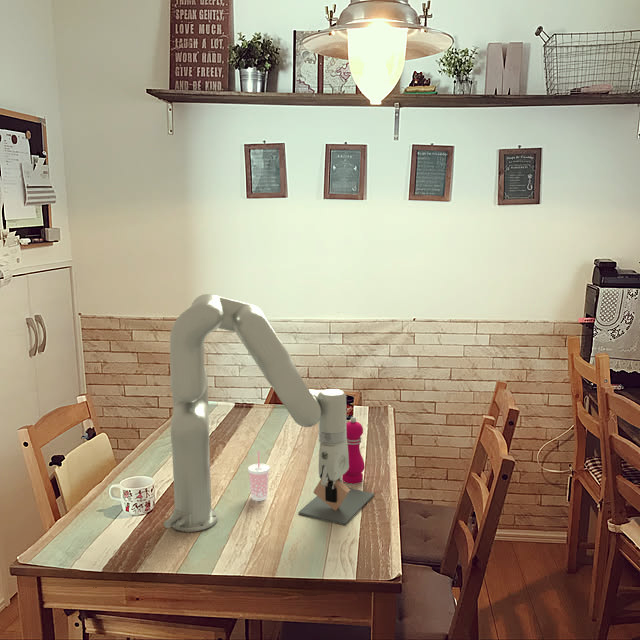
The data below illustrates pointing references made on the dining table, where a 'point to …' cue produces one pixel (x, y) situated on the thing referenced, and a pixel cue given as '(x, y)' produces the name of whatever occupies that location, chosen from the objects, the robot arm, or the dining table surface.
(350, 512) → the mat
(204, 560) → the dining table surface
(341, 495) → the tile
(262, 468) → the beverage cup
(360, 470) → the pepper mill
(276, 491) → the dining table surface
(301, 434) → the dining table surface
